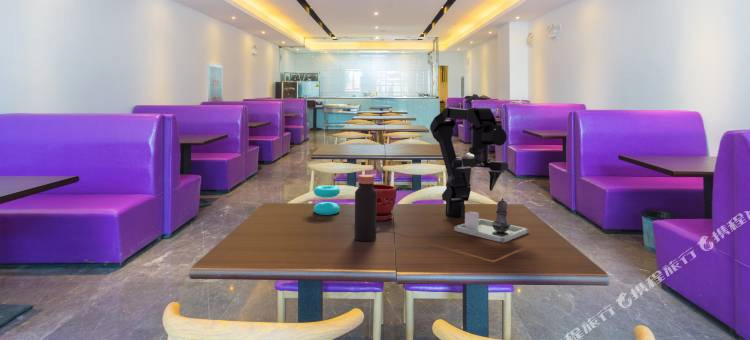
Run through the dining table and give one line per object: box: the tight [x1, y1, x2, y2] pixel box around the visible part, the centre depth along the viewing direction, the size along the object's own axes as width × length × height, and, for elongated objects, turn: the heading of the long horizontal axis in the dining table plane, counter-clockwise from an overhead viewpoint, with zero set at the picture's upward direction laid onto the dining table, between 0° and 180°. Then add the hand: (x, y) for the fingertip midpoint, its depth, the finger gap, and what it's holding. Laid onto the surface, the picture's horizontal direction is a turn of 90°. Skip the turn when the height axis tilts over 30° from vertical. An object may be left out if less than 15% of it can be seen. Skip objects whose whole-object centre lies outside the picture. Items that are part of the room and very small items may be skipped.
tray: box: [453, 218, 529, 244], centre depth 151 cm, size 18×16×2 cm
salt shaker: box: [492, 198, 512, 237], centre depth 147 cm, size 6×6×12 cm
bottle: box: [354, 174, 377, 243], centre depth 141 cm, size 7×7×20 cm
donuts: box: [313, 184, 341, 216], centre depth 175 cm, size 10×10×10 cm
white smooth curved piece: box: [464, 211, 480, 231], centre depth 151 cm, size 4×4×6 cm
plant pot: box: [373, 183, 397, 222], centre depth 168 cm, size 13×13×12 cm
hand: (479, 189), depth 158 cm, fingers open, 9 cm apart
